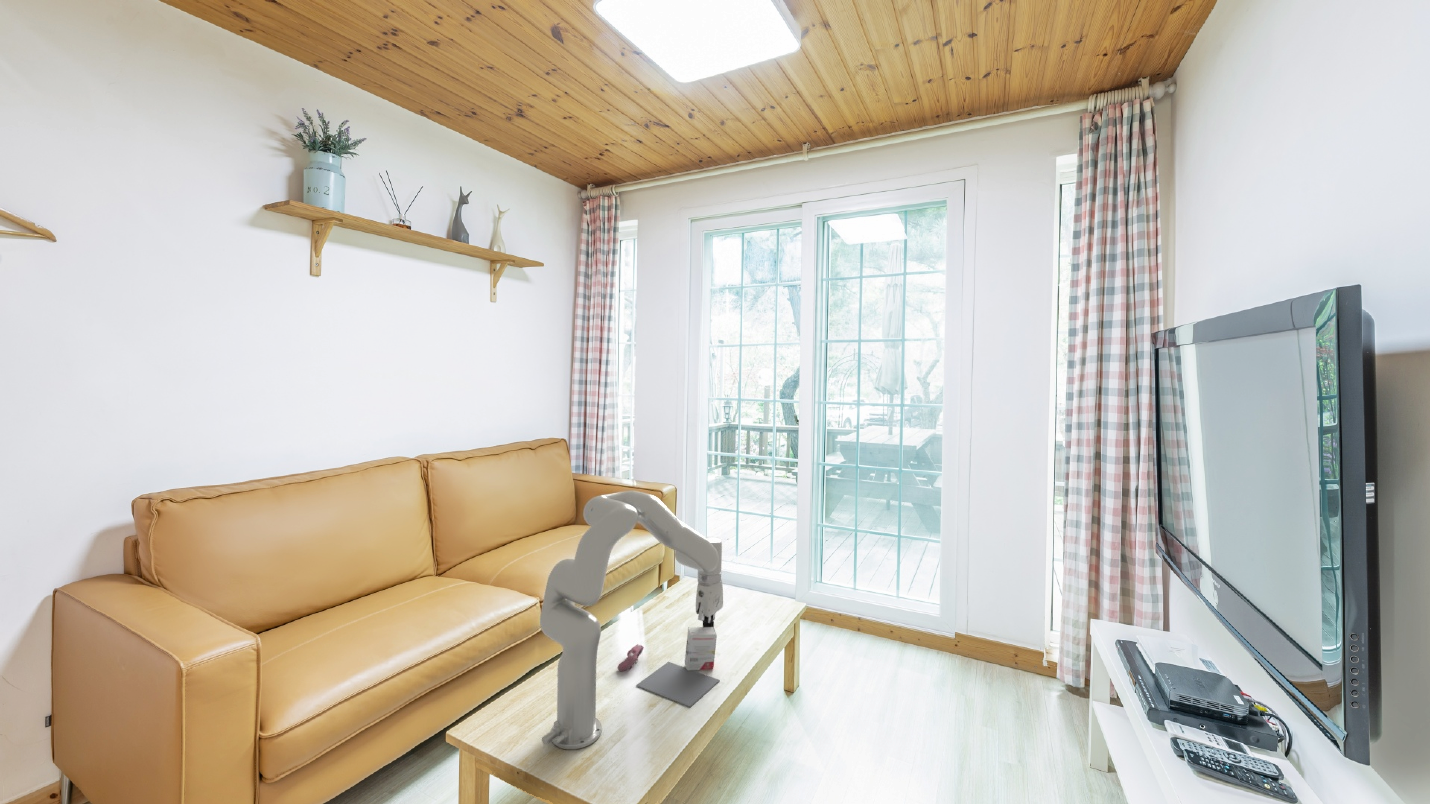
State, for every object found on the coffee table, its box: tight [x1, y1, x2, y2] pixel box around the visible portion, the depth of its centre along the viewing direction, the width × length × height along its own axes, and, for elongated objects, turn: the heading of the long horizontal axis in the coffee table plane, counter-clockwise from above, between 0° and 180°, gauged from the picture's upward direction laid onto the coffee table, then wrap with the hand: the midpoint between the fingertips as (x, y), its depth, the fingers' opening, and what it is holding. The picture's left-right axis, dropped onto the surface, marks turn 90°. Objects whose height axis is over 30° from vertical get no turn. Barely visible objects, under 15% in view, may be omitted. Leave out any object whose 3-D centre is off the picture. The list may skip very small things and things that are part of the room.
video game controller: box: [617, 643, 645, 672], centre depth 174 cm, size 10×5×7 cm, turn 169°
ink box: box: [684, 626, 718, 671], centre depth 173 cm, size 9×5×12 cm, turn 103°
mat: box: [635, 661, 720, 709], centre depth 164 cm, size 16×19×1 cm
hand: (708, 632), depth 177 cm, fingers closed
